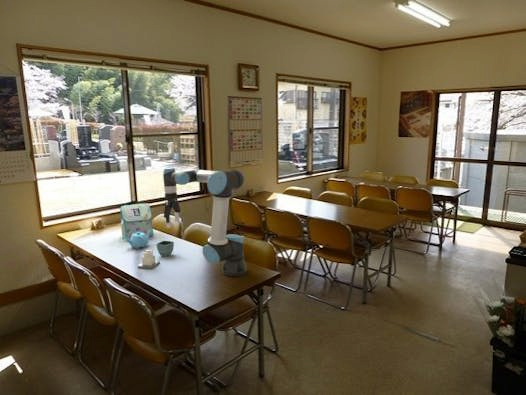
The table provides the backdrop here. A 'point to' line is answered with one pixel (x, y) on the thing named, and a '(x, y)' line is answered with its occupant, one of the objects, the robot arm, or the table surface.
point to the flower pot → (165, 248)
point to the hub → (149, 265)
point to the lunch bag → (135, 220)
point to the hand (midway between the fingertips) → (173, 224)
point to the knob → (146, 255)
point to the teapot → (138, 240)
